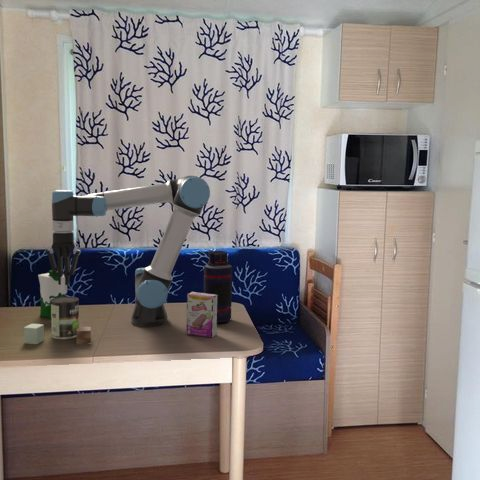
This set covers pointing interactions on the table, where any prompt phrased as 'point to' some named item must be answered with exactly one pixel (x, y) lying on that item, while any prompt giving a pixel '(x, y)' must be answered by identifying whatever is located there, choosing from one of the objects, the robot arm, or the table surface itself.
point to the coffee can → (64, 317)
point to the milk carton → (48, 292)
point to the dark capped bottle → (219, 283)
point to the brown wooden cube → (83, 335)
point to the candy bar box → (201, 314)
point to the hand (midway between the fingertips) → (64, 293)
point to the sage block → (34, 333)
